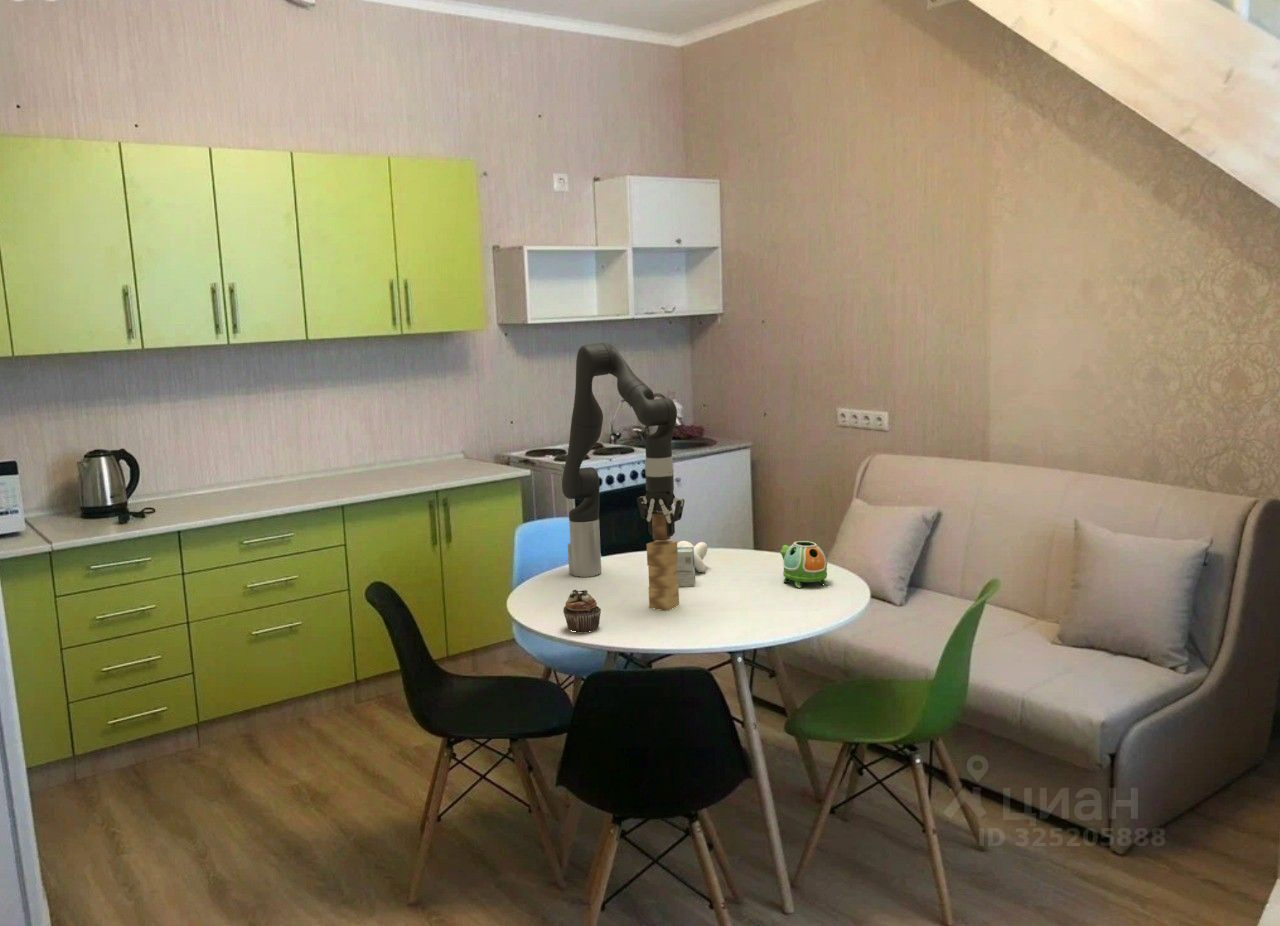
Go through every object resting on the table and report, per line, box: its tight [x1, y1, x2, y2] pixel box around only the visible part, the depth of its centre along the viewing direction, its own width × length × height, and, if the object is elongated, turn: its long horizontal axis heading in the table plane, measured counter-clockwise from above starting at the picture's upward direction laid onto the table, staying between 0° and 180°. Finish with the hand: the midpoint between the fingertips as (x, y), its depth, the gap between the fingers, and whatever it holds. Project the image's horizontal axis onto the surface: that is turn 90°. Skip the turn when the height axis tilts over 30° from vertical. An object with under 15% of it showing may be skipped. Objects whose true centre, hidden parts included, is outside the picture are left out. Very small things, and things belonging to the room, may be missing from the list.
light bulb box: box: [677, 545, 696, 587], centre depth 303 cm, size 11×7×11 cm, turn 84°
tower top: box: [646, 539, 678, 568], centre depth 279 cm, size 6×6×6 cm
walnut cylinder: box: [652, 510, 671, 541], centre depth 278 cm, size 5×5×7 cm
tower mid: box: [648, 564, 678, 589], centre depth 280 cm, size 6×6×6 cm
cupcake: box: [563, 589, 602, 633], centre depth 264 cm, size 10×10×10 cm
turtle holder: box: [780, 540, 828, 589], centre depth 300 cm, size 12×18×12 cm
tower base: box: [648, 584, 680, 612], centre depth 280 cm, size 6×6×6 cm
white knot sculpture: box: [677, 540, 708, 573], centre depth 318 cm, size 11×12×9 cm
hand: (661, 535), depth 278 cm, fingers closed on walnut cylinder, 4 cm apart
